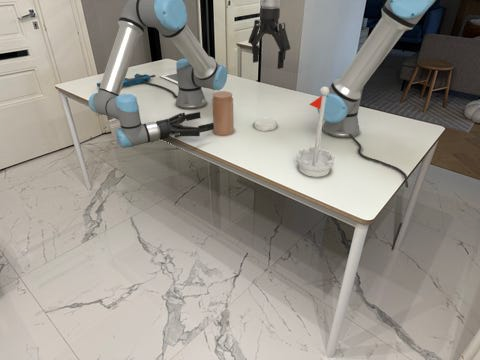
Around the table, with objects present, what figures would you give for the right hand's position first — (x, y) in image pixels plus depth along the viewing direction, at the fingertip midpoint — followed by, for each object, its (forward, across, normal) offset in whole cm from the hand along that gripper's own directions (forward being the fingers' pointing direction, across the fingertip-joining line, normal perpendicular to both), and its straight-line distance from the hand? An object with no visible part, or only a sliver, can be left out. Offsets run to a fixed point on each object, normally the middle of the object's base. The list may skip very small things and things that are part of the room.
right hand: (267, 65), depth 139 cm
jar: (+27, -9, -17) cm, 33 cm away
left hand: (+20, -11, -25) cm, 34 cm away
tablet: (+27, -83, +18) cm, 89 cm away
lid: (+25, 0, 0) cm, 25 cm away
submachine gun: (+27, -104, -13) cm, 109 cm away
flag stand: (+27, +38, -15) cm, 49 cm away
